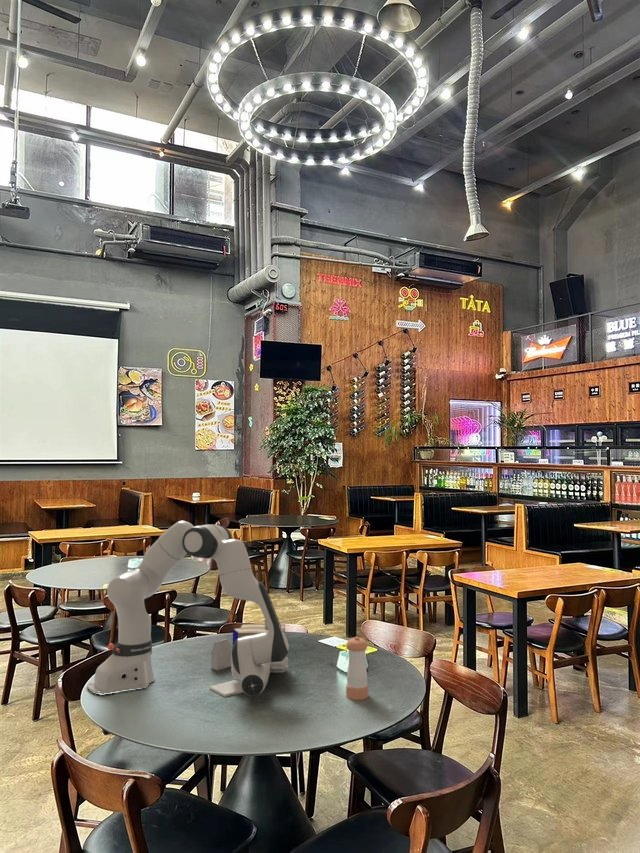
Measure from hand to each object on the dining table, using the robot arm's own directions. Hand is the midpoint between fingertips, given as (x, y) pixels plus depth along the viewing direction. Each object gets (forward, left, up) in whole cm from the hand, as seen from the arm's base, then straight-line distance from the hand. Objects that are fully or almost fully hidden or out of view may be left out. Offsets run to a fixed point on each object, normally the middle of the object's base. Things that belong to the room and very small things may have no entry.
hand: (261, 657), depth 224 cm
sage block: (+4, 0, +10) cm, 11 cm away
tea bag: (-6, +17, -7) cm, 20 cm away
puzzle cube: (+10, +23, -7) cm, 26 cm away
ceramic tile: (-16, -5, -7) cm, 18 cm away
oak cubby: (+1, +1, -7) cm, 7 cm away
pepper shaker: (+13, -38, -7) cm, 40 cm away
